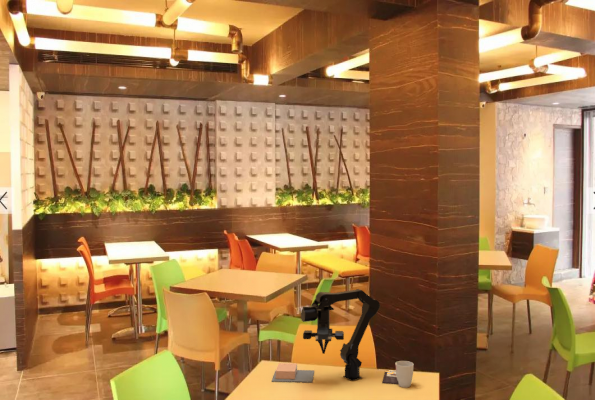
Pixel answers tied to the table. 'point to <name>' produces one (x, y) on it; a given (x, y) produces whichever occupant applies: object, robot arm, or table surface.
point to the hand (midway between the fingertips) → (323, 353)
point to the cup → (404, 373)
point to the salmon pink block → (286, 371)
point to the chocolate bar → (390, 378)
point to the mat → (298, 377)
